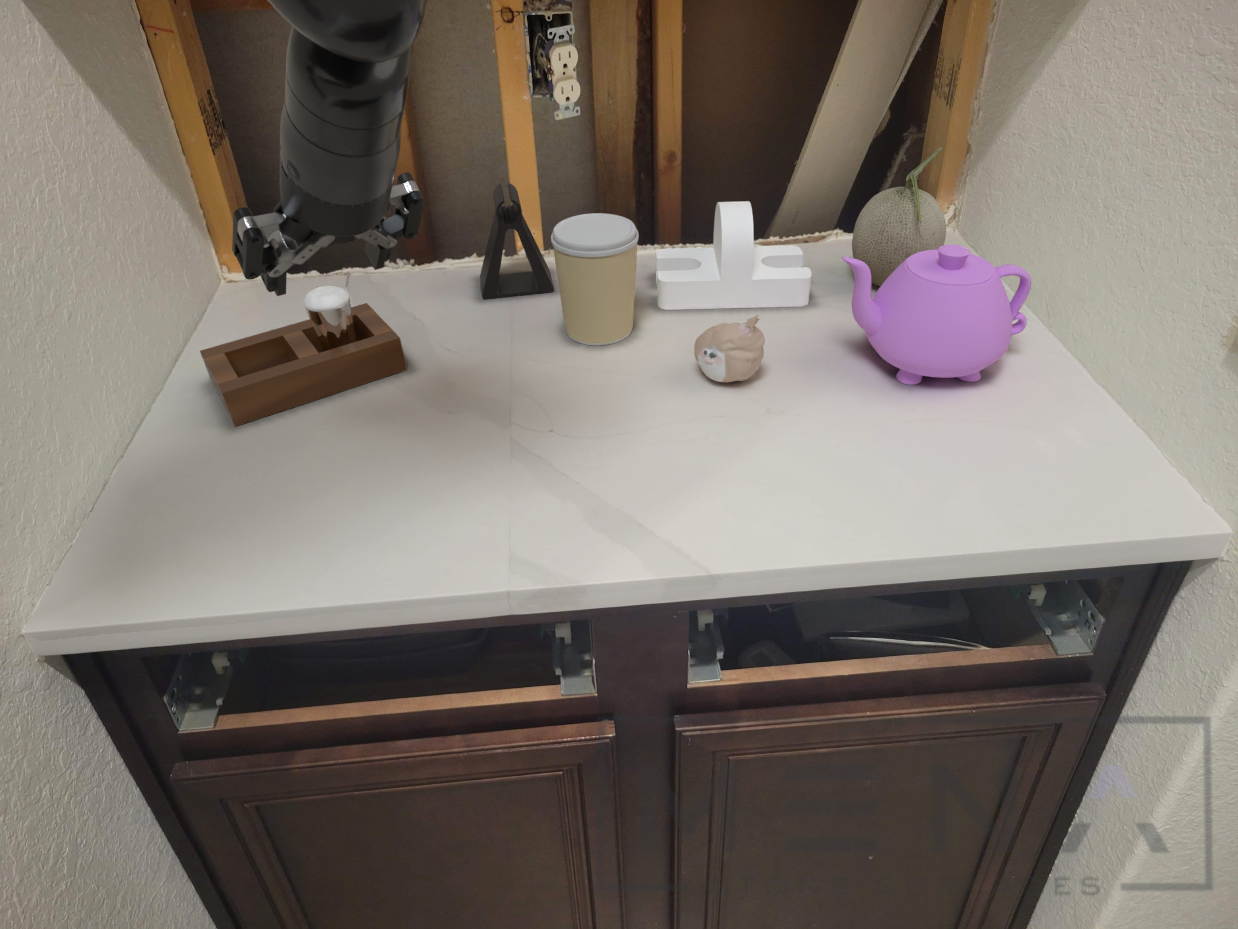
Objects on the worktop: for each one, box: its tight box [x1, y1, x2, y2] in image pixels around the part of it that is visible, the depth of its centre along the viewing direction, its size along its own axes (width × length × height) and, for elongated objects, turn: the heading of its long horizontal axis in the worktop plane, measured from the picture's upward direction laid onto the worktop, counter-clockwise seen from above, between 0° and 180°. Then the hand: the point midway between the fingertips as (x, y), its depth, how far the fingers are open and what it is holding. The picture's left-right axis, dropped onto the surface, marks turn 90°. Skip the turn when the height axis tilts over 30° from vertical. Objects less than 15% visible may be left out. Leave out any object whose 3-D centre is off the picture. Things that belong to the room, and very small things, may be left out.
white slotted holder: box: [655, 200, 813, 311], centre depth 98 cm, size 10×18×11 cm, turn 90°
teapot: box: [841, 244, 1032, 386], centre depth 83 cm, size 20×14×12 cm
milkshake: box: [303, 271, 356, 352], centre depth 86 cm, size 5×5×10 cm
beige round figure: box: [693, 314, 766, 383], centre depth 83 cm, size 7×6×8 cm
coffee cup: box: [550, 212, 640, 346], centre depth 91 cm, size 9×9×12 cm
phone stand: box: [479, 182, 555, 300], centre depth 100 cm, size 9×6×12 cm, turn 100°
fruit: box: [851, 146, 947, 287], centre depth 97 cm, size 10×12×15 cm
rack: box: [199, 302, 408, 427], centre depth 87 cm, size 10×18×4 cm, turn 124°
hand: (326, 272), depth 70 cm, fingers open, 8 cm apart
